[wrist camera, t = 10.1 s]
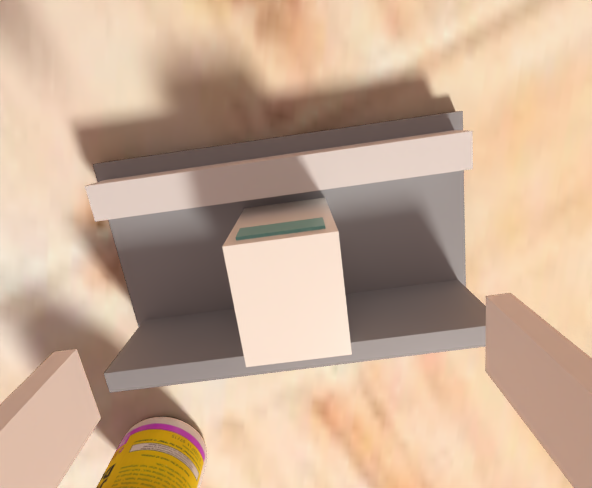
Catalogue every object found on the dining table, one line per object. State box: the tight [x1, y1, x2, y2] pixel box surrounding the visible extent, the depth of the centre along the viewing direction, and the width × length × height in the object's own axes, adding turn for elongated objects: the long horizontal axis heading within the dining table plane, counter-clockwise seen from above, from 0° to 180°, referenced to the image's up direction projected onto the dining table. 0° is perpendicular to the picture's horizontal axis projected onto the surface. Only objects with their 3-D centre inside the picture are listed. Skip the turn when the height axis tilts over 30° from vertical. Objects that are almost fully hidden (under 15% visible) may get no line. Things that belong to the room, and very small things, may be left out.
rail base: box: [85, 111, 486, 393], centre depth 23 cm, size 12×22×7 cm, turn 98°
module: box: [222, 198, 352, 367], centre depth 22 cm, size 6×5×8 cm
